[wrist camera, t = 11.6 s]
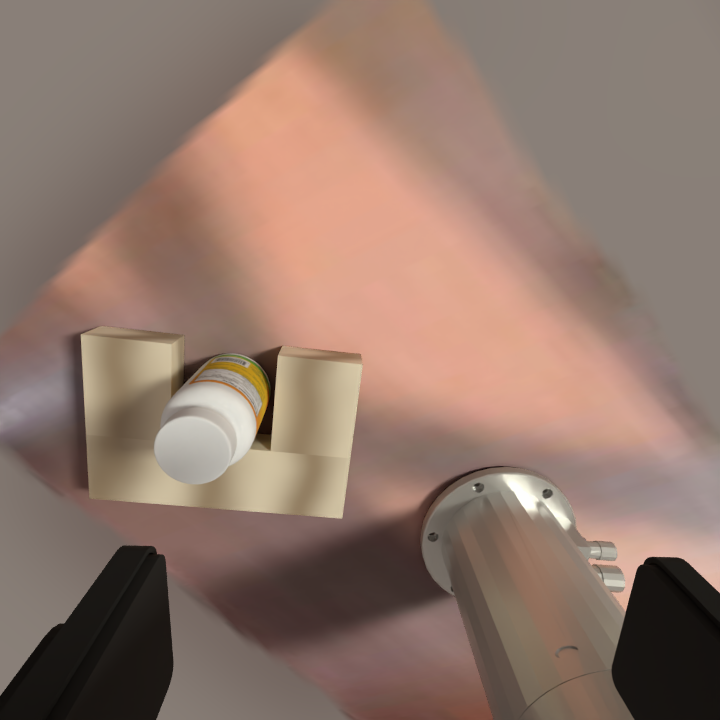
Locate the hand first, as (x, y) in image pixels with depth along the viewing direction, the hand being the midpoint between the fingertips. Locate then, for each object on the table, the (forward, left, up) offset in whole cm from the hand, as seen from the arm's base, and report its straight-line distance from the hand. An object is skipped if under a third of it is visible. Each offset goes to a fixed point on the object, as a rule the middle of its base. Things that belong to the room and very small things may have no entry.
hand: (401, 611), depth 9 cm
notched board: (+9, +7, -24) cm, 26 cm away
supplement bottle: (+8, +5, -24) cm, 26 cm away
